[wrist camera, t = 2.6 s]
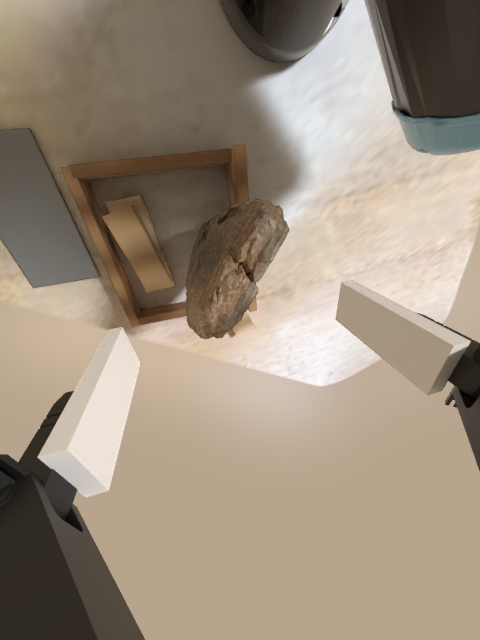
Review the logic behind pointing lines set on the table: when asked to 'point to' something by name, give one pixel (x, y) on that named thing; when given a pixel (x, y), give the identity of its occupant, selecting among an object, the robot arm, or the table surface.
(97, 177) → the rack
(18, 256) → the mat
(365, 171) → the table surface
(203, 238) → the brown rock
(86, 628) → the robot arm
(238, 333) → the offcut
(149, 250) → the offcut
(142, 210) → the offcut
